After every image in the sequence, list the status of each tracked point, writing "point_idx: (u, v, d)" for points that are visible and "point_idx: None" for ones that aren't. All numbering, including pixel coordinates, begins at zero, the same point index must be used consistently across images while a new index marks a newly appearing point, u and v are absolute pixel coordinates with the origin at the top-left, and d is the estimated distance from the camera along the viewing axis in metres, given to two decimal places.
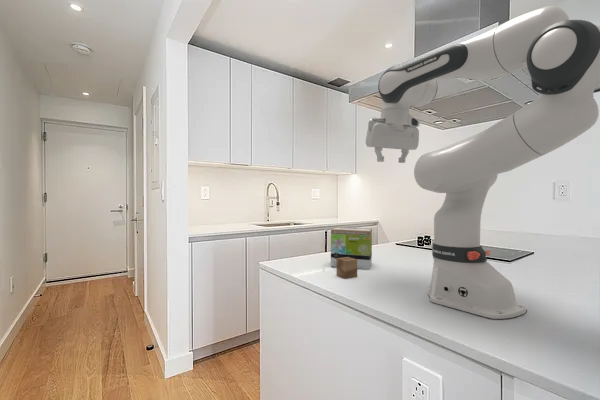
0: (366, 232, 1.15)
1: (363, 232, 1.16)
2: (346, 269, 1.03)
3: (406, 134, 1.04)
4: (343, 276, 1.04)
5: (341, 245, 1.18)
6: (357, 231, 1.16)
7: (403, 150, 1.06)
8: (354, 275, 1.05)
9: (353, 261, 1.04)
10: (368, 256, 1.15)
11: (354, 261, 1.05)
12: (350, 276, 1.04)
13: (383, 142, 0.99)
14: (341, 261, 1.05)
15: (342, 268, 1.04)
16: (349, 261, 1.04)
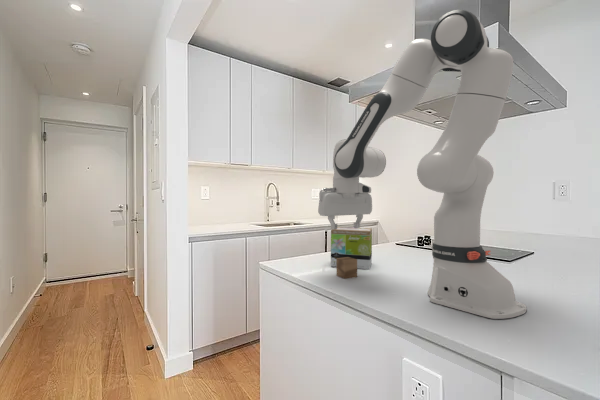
0: (366, 232, 1.15)
1: (363, 232, 1.16)
2: (346, 269, 1.03)
3: (358, 200, 1.07)
4: (343, 276, 1.04)
5: (341, 245, 1.18)
6: (357, 231, 1.16)
7: (357, 215, 1.09)
8: (354, 275, 1.05)
9: (353, 261, 1.04)
10: (368, 256, 1.15)
11: (354, 261, 1.05)
12: (350, 276, 1.04)
13: (334, 211, 1.02)
14: (341, 261, 1.05)
15: (342, 268, 1.04)
16: (349, 261, 1.04)
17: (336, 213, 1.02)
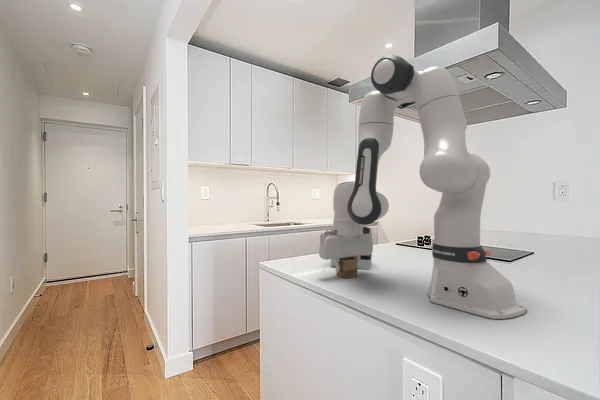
0: None
1: None
2: (346, 269, 1.03)
3: (359, 241, 1.07)
4: (343, 276, 1.04)
5: None
6: None
7: (355, 256, 1.08)
8: (354, 275, 1.05)
9: (353, 261, 1.05)
10: (368, 256, 1.15)
11: (354, 261, 1.05)
12: (350, 276, 1.04)
13: (335, 254, 1.02)
14: (341, 261, 1.05)
15: (342, 267, 1.04)
16: (349, 261, 1.04)
17: (337, 256, 1.02)
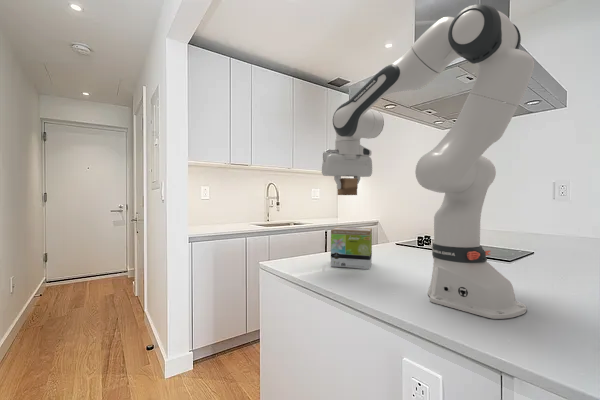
0: (366, 232, 1.15)
1: (363, 232, 1.16)
2: (347, 186, 1.09)
3: (359, 162, 1.13)
4: (344, 193, 1.10)
5: (341, 245, 1.18)
6: (357, 231, 1.16)
7: (355, 177, 1.14)
8: (354, 193, 1.11)
9: (353, 179, 1.10)
10: (368, 256, 1.15)
11: (354, 179, 1.11)
12: (350, 193, 1.10)
13: (337, 171, 1.08)
14: (342, 179, 1.11)
15: (343, 185, 1.10)
16: (350, 179, 1.10)
17: (338, 173, 1.08)
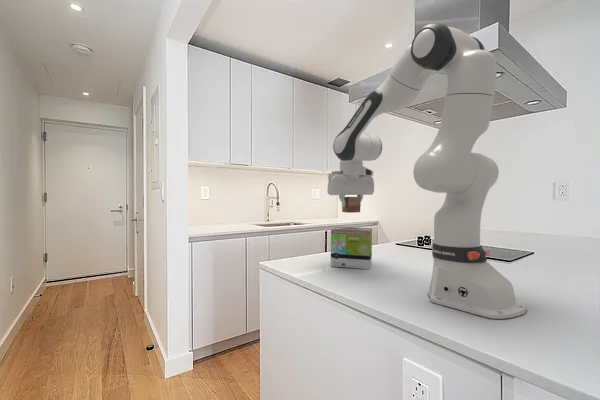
0: (366, 232, 1.15)
1: (363, 232, 1.16)
2: (351, 204, 1.19)
3: (362, 182, 1.22)
4: (348, 210, 1.19)
5: (341, 245, 1.18)
6: (357, 231, 1.16)
7: (358, 195, 1.23)
8: (357, 210, 1.20)
9: (357, 198, 1.20)
10: (368, 256, 1.15)
11: (357, 198, 1.20)
12: (354, 211, 1.19)
13: (341, 190, 1.17)
14: (346, 198, 1.20)
15: (347, 203, 1.19)
16: (353, 197, 1.19)
17: (343, 192, 1.18)
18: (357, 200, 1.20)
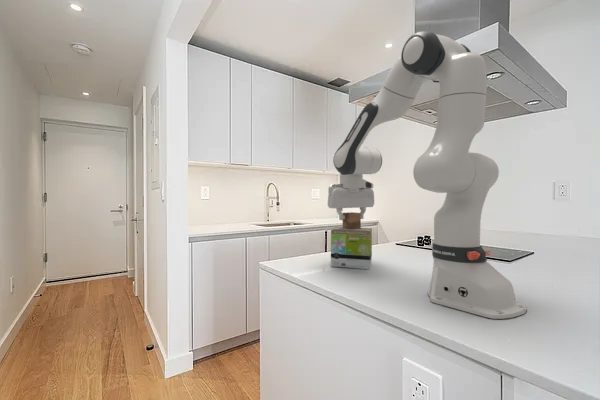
0: (366, 232, 1.15)
1: (363, 232, 1.16)
2: (351, 221, 1.19)
3: (362, 195, 1.22)
4: (348, 227, 1.19)
5: (341, 245, 1.18)
6: (357, 231, 1.16)
7: (361, 208, 1.24)
8: (358, 226, 1.20)
9: (357, 214, 1.20)
10: (368, 256, 1.15)
11: (358, 214, 1.20)
12: (354, 227, 1.19)
13: (342, 204, 1.17)
14: (347, 214, 1.20)
15: (348, 220, 1.19)
16: (354, 214, 1.19)
17: (343, 206, 1.18)
18: (357, 216, 1.20)
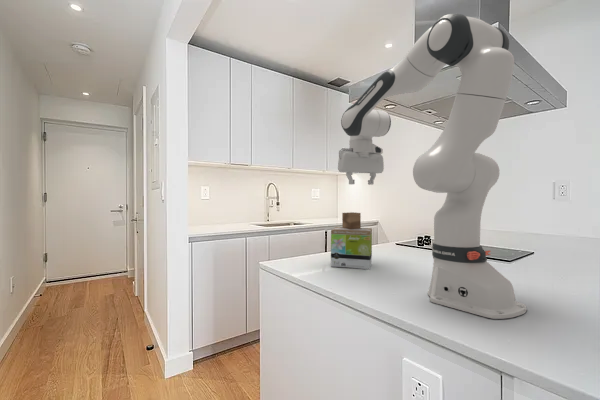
0: (366, 232, 1.15)
1: (363, 232, 1.16)
2: (351, 220, 1.19)
3: (372, 160, 1.22)
4: (348, 227, 1.19)
5: (341, 245, 1.18)
6: (357, 231, 1.16)
7: (371, 174, 1.24)
8: (358, 226, 1.20)
9: (357, 214, 1.20)
10: (368, 256, 1.15)
11: (358, 214, 1.20)
12: (354, 227, 1.19)
13: (352, 167, 1.17)
14: (346, 214, 1.20)
15: (348, 220, 1.19)
16: (354, 214, 1.19)
17: (353, 169, 1.18)
18: (357, 216, 1.20)
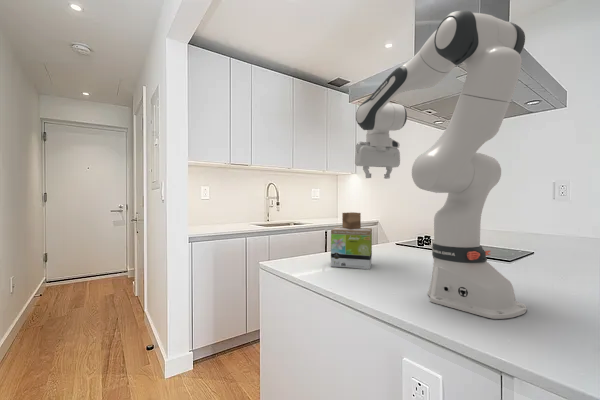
0: (366, 232, 1.15)
1: (363, 232, 1.16)
2: (351, 220, 1.19)
3: (388, 154, 1.23)
4: (348, 227, 1.19)
5: (341, 245, 1.18)
6: (357, 231, 1.16)
7: (387, 168, 1.25)
8: (358, 226, 1.20)
9: (357, 214, 1.20)
10: (368, 256, 1.15)
11: (358, 214, 1.20)
12: (354, 227, 1.20)
13: (369, 161, 1.18)
14: (347, 214, 1.20)
15: (348, 220, 1.19)
16: (354, 214, 1.19)
17: (370, 163, 1.19)
18: (357, 216, 1.20)
